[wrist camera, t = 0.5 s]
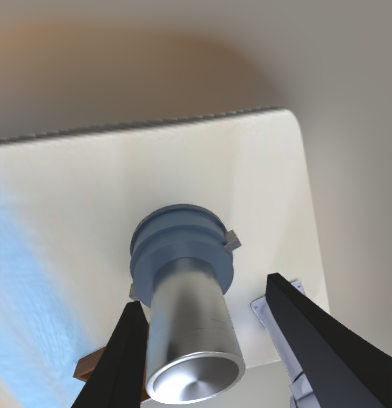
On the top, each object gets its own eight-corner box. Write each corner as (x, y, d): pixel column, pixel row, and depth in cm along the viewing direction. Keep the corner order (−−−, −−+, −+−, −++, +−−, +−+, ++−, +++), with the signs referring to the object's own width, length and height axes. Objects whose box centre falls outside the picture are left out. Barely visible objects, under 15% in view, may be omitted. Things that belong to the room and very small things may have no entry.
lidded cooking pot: (245, 252, 23) (264, 285, 19) (162, 295, 24) (162, 335, 20) (205, 181, 18) (219, 203, 14) (104, 239, 19) (86, 277, 15)
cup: (226, 285, 18) (259, 377, 12) (174, 311, 18) (179, 412, 12) (198, 246, 15) (221, 338, 9) (139, 277, 16) (122, 385, 9)
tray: (201, 361, 33) (203, 375, 31) (140, 390, 34) (138, 405, 33) (152, 322, 26) (151, 337, 25) (78, 360, 28) (72, 377, 26)
